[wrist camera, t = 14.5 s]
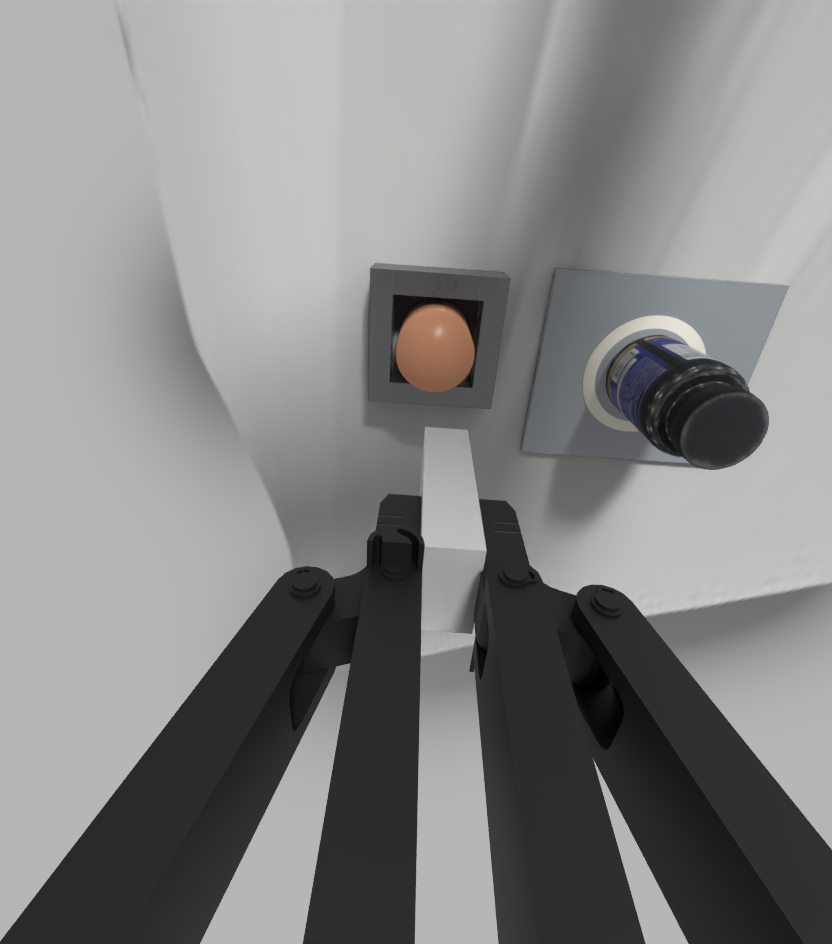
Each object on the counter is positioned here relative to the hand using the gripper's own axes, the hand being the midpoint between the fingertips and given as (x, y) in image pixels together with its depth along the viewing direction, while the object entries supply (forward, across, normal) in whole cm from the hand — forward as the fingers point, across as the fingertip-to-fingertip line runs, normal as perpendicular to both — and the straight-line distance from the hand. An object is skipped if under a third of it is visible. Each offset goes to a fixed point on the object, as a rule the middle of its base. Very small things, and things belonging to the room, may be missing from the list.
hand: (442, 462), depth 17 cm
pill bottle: (+20, +16, -2) cm, 26 cm away
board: (+21, +16, -2) cm, 26 cm away
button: (+20, 0, -1) cm, 20 cm away
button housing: (+21, 0, 0) cm, 21 cm away
